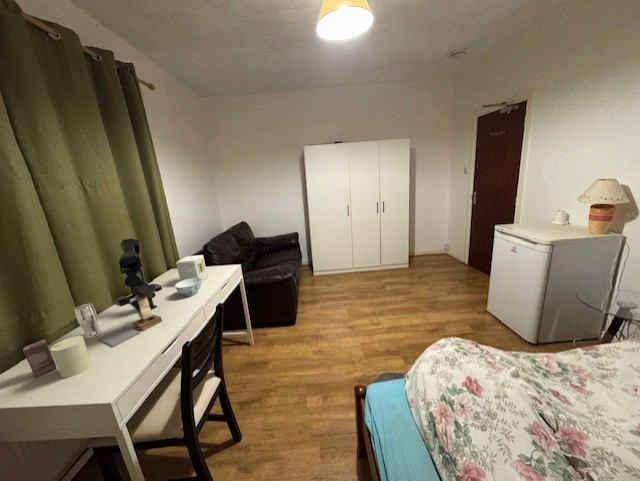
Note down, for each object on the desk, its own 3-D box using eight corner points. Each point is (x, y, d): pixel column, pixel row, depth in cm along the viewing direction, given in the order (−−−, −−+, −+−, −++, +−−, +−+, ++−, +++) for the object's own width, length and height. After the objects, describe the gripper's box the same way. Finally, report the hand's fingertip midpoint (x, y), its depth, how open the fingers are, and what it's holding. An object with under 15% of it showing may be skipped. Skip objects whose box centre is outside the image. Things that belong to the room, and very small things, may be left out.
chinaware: (208, 288, 166) (206, 277, 164) (193, 299, 152) (191, 287, 150) (188, 288, 169) (185, 278, 167) (172, 299, 154) (169, 287, 153)
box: (56, 364, 103) (45, 338, 100) (57, 369, 100) (46, 342, 97) (34, 373, 98) (22, 346, 96) (34, 378, 96) (22, 351, 93)
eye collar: (133, 327, 126) (132, 322, 125) (152, 318, 133) (151, 313, 133) (143, 331, 121) (141, 326, 121) (162, 321, 129) (160, 316, 128)
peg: (139, 317, 126) (133, 299, 123) (147, 313, 129) (142, 295, 127) (143, 319, 124) (138, 300, 121) (152, 315, 127) (147, 297, 125)
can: (67, 365, 101) (57, 339, 98) (96, 357, 105) (87, 331, 102) (55, 381, 93) (43, 353, 90) (86, 371, 96) (76, 344, 94)
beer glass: (81, 341, 118) (70, 312, 115) (86, 333, 124) (76, 306, 121) (100, 335, 121) (90, 307, 118) (104, 328, 127) (95, 301, 124)
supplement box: (199, 284, 174) (194, 260, 170) (181, 286, 175) (175, 262, 171) (208, 277, 187) (203, 254, 183) (191, 278, 188) (185, 256, 184)
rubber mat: (99, 340, 118) (98, 338, 117) (125, 327, 127) (125, 326, 127) (113, 347, 111) (113, 345, 111) (140, 333, 120) (140, 331, 120)
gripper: (121, 291, 110) (131, 323, 114) (164, 275, 126) (171, 303, 129) (109, 288, 116) (119, 318, 119) (152, 273, 131) (159, 300, 135)
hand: (143, 310), depth 126 cm, fingers closed on peg, 4 cm apart
